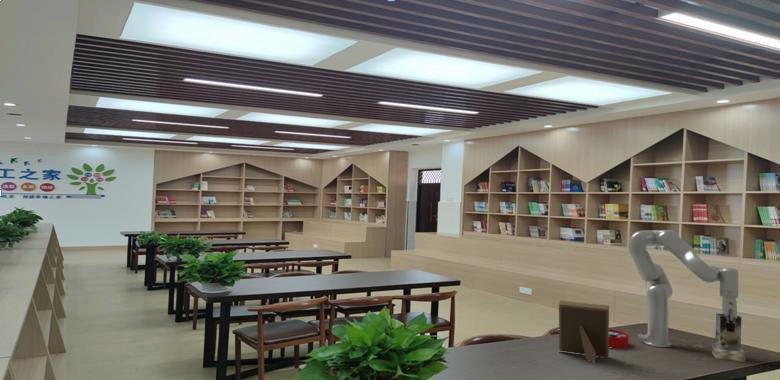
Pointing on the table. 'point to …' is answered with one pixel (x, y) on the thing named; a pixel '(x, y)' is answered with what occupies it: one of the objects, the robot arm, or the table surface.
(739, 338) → the coffee box
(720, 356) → the stand
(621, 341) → the toy clock
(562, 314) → the photo frame
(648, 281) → the robot arm
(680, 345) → the table surface
